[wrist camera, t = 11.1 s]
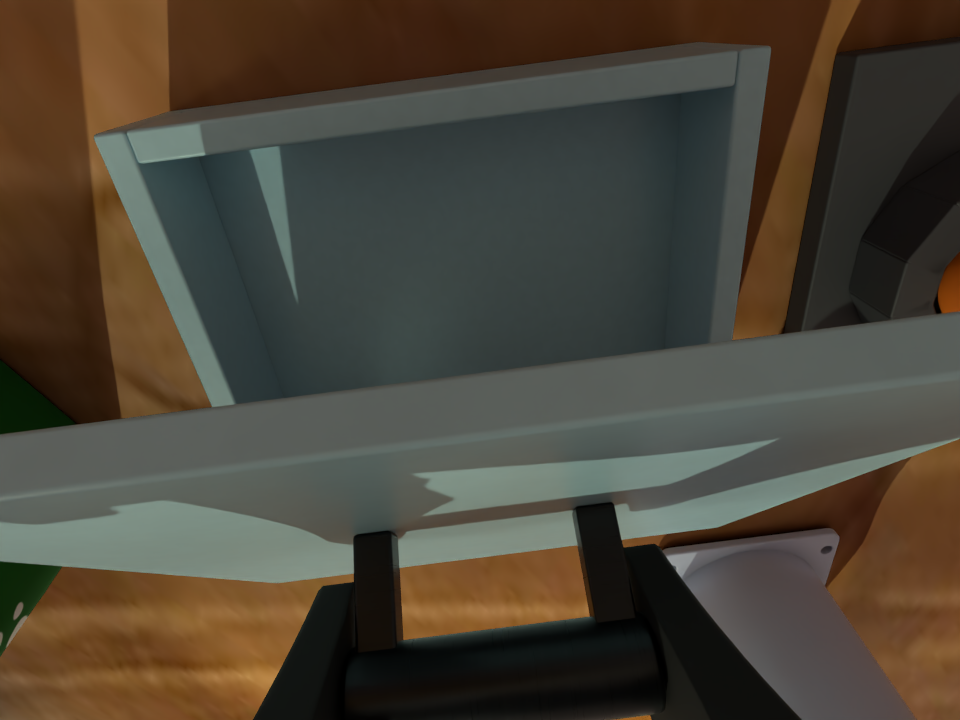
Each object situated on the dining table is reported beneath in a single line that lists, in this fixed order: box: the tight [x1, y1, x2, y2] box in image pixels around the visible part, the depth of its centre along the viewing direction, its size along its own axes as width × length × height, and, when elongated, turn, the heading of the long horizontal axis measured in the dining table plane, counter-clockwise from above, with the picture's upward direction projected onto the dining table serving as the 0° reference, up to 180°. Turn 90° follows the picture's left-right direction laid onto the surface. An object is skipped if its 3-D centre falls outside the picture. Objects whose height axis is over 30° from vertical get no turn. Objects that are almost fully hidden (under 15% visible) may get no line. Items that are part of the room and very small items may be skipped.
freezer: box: [94, 42, 771, 407], centre depth 17 cm, size 13×14×4 cm
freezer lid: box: [0, 311, 960, 720], centre depth 11 cm, size 14×14×4 cm
